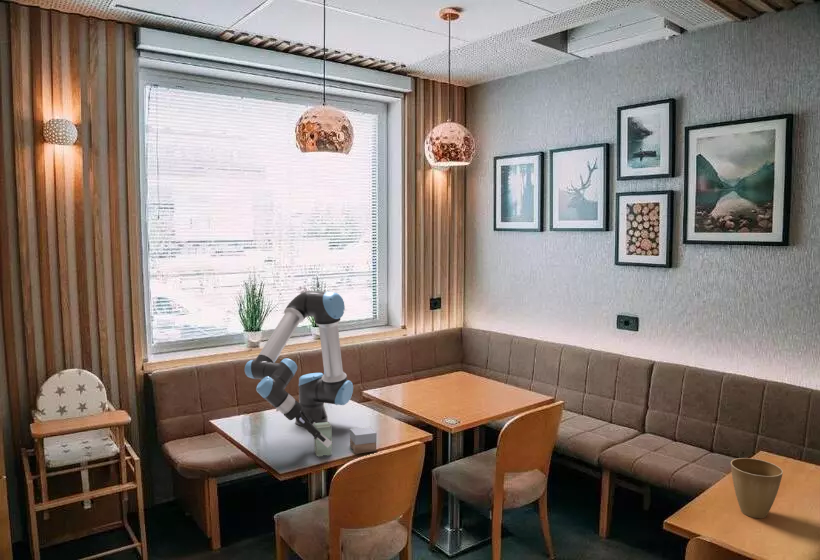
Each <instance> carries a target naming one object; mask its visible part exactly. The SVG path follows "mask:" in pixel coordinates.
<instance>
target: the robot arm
mask: <svg viewBox="0 0 820 560" xmlns="http://www.w3.org/2000/svg"><path fill="white" fill-rule="evenodd" d="M345 307H346V306H345V301H344V299H343V297H342V296H341V295H340V294H339V293H337V292H332V291H320V290H318V291H317V290H316V291H315V290H305V291H303V292H301V293H300V294H298V295H296V296H295V297H294V298H293V299H291V301H290V302H289V303H288V304H287V306H286V307H285V309H284V311H283V312H284V313H283V314H284V315H283V316H282V318H281V319H280V321H279V322H278V324H277V326H276V327H275V328H274V330H273V332H272V333H271V335H270V337H269V338H268V340H267V341H266V342H265V345H264V346H263V347H262V348H261V350H260V352H259V353H258V355H257V357H256V358H255V359H251V360H249V361H247V362H246V364H245V366H244V373H245V376H246V377H247V378H250V379H253V380H260V382H258V383H257V385H256V388H255V390H256V392H257V393H258V394H259V395H260V396H261V397H262V398H263V399H264V400H265V401H267V403H269V404H270V405H271V406H272V407H274V409H276V410H275V411H276V412H280V413H281V414H282V415H283V416H284V417H285V419H287V420H289V421H293V420H295V424H296V425H298V426H300V427H303V428H305V430H307V431H308V432H309V433H310V434H311V435H312V437H313V440H314V439H316V438H317V439H318V440H319V441H320V442H321V443H323V444H324V445H325V446H326V447H327V448H328V447H329V446H330V445H331V444H332V445H333V441H332V442H331V441H330V440H329V439H328V438H327V437H326V436H324V435H323V434H322V433H321V432H319V431H318V430H317V429H316V428H315V427H314V423H323V422H329V421H328V418H329V417H328V414H327V411H326V408H325V405H324V404H328V405H329V404H330V405H334V406H344V405H347V404H348V403H349V402H350V401H351V398H352V395H353V393H354V385H353V382H352V381H351V380H349V379H348V375H347V373H346V372H345V371H344V369H343V360H342V351H341V342H340V335H339V334H340V333H339V326H338V325H339V322H341V320H342V319H341V318H342V317H343V316H344V313H345V312H344V311H345ZM308 317H312V318H314V319H313V320H314V324H316V325H317V326H318V330H319V340H320V346H321V357H322V364H323V373H322V372H313V373H312V372H311V373H306V374H303V375H301V376H300V377H299V378H298V400H296V398H294V397H293V396H292V395H291V394H290V393H288V392H287V391H286V390H285V389H286V388H287V386H288V385H289V384H290V382H291V380H292V379H293V378H295V377H294V376H295V375H296V372H297V370H298V365H297V363H296V361H294V360H292V359H290V358H288V357H285V358H283V359H282V360H281V361H280V362H276V361H277V360H278V358H279V356H280V355H281V353H282V352H283V350H284V348H285V347H286V345H287V343H288V341H289V340H290V338H291V337H292V335H293V333H294V332H295V331H296V329H297V328H298V325H299V324H300V323H304V320H305V319H306V318H308ZM316 433H317V434H316ZM315 434H316V435H315ZM314 437H315V438H314Z"/></svg>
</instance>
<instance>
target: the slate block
mask: <svg viewBox="0 0 820 560" xmlns="http://www.w3.org/2000/svg"><path fill="white" fill-rule="evenodd" d="M377 434H378V433H377V432H376V431H375V430H374V428H372V427H371V426H364V427H362V426H361V427H354V428H350V429H349V439H350V438H351V440H352V441H353V442H354V443H355V445H358V444H367V443H375V442H376V443H378V442H377V441H378V440H377V437H378V436H377Z"/></svg>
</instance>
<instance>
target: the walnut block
mask: <svg viewBox="0 0 820 560" xmlns="http://www.w3.org/2000/svg"><path fill="white" fill-rule="evenodd" d="M349 439H350V440H349V446H350V448H351V449H353V450H352V451H353V452H354V454H355V453H356V454H362V453H370V452H372V453H373V452H377V442H375V443H367V444H358V445H355V443H354V442H353V441H352V440H351V438H350V437H349Z"/></svg>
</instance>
